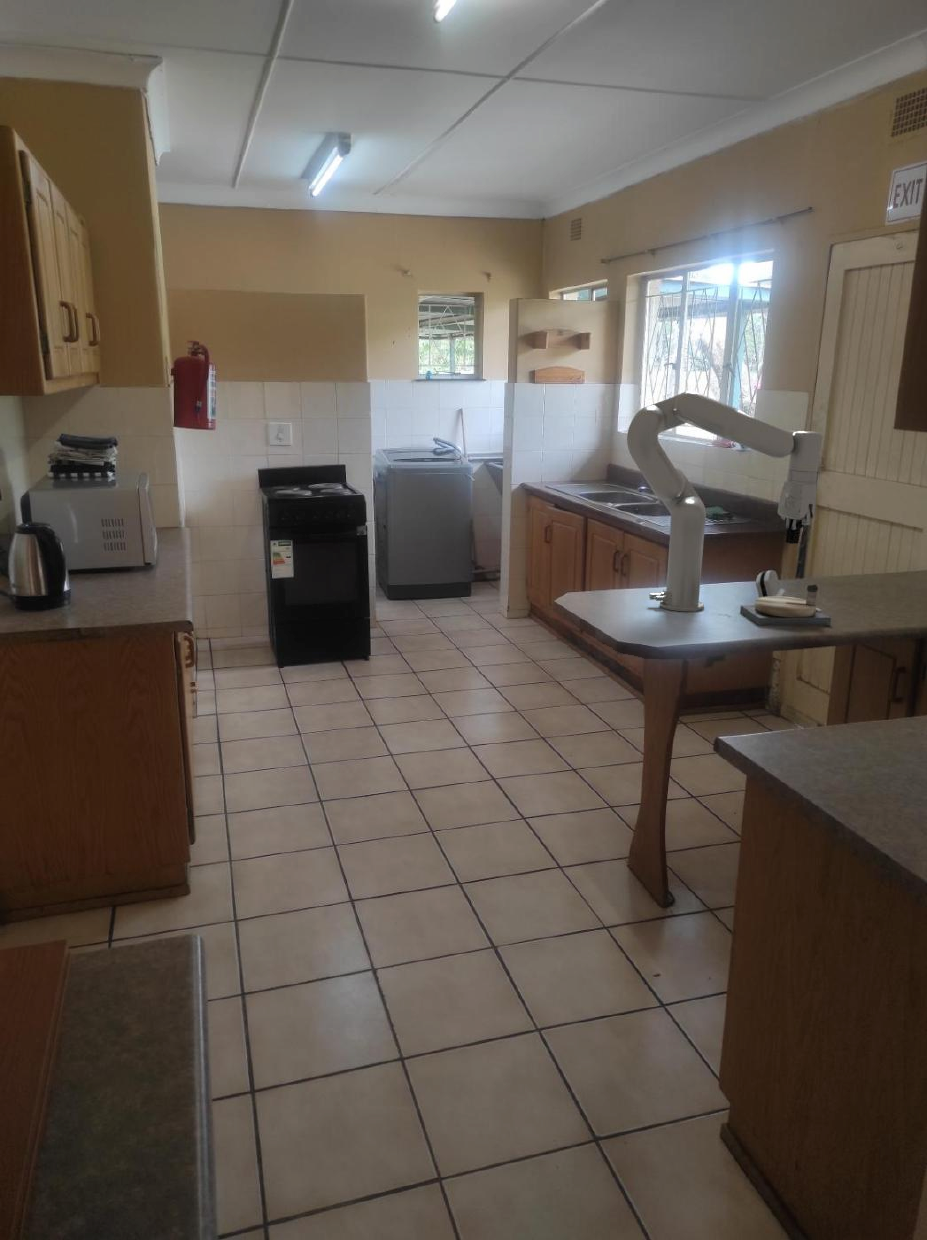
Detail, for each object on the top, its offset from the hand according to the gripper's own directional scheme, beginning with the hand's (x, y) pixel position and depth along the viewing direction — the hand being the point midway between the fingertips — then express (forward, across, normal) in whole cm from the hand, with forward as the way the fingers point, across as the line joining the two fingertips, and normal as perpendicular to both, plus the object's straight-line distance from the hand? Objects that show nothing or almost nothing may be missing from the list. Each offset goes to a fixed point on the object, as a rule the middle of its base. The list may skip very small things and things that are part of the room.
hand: (791, 542), depth 245 cm
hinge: (+21, -15, +8) cm, 27 cm away
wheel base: (+21, +5, -3) cm, 21 cm away
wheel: (+18, +5, -3) cm, 19 cm away
